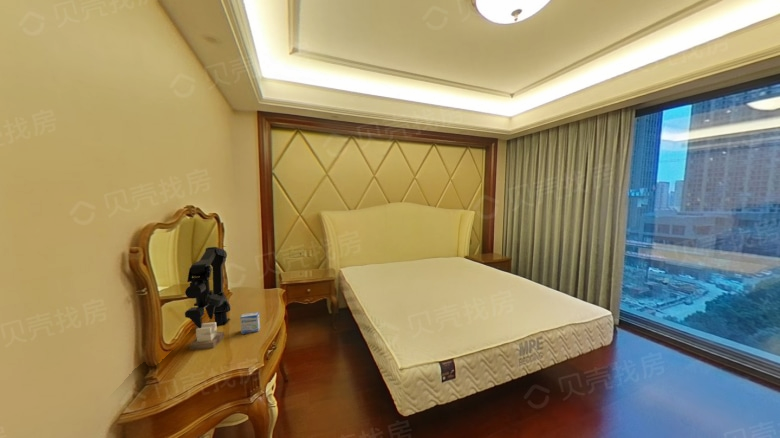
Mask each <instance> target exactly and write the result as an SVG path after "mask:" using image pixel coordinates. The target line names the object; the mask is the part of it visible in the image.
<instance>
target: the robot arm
mask: <svg viewBox="0 0 780 438" xmlns="http://www.w3.org/2000/svg"><path fill="white" fill-rule="evenodd" d="M204 250H205V252H204V253H203V254H202V256H201V258H200V259H199V260H198V261H195V262H194V263H193V264H192V265H191V266H190V267H189V270H188V275H187V283H189V286H188V287H187V288H186V289H185V291H184V293H185V294H184V295H186V297H187V298H188V299H193V300H195V302H194V303H193V306H194V307H190V308H188V309H187V310H186V311H185V312H184V317H185V318H188V319H189V320H191V321H192V322H193V324H194V325H195V326H196V327H197V328H201V327H202V323H203V317H204V316H205V311H206V314H207V316H208V318H209V320H212V319H213V318H214V322H216V324H217V326H225V325H226V324H228V322H229V321H230V320H231V318H228V313H229V312H230V311H232V310H231V304H230V303H229V301H228V297H227V296H226V295H225V292H224V272H223V271H224V270H223V269H224V268H223V267H224V265H225V263H226V260H227V258H228V257H227V256H228V253H227V251H226V250H225V249H223V248H219V247H218V246H209V247H206V248H205V249H204ZM211 275H212V290H211V287H210V278H211Z"/></svg>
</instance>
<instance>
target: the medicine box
mask: <svg viewBox="0 0 780 438" xmlns="http://www.w3.org/2000/svg"><path fill="white" fill-rule="evenodd" d="M260 329H261V321H260V312H259V311H257V312H250V313H242V314H241V316H240V331H241V334H242V335H244V334H250V333H257V332H259V331H260Z"/></svg>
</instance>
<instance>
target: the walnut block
mask: <svg viewBox="0 0 780 438" xmlns="http://www.w3.org/2000/svg"><path fill="white" fill-rule="evenodd" d="M217 333H218V334H217V335H216V336H215V337H214V338H213V339H212V340H211V341H202V342H197V337H196V339H194V340H193V341H192V342H191V343H189V350H190V351H194V350H205V349H207V350H208V349H214V348H216V346H217V345H218V344H219V343H221V341H222V340H223V338H225V332H224V331H217Z"/></svg>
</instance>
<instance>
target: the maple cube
mask: <svg viewBox="0 0 780 438" xmlns="http://www.w3.org/2000/svg"><path fill="white" fill-rule="evenodd" d="M217 326H218V325H217V324H216V322H215V321H214V322H213V321H212V322H202V327H201V328H198V327H197V328H196V329H195V334H196V338H197V342H202V341H211V340H212V339H213V338H214V337H215V336H216V335H217V334H218V333H217V332H218V327H217Z"/></svg>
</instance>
